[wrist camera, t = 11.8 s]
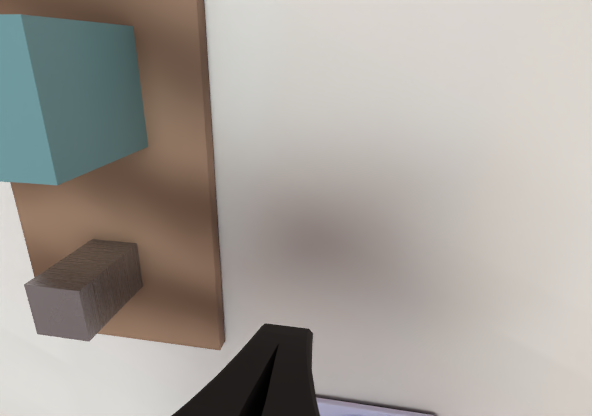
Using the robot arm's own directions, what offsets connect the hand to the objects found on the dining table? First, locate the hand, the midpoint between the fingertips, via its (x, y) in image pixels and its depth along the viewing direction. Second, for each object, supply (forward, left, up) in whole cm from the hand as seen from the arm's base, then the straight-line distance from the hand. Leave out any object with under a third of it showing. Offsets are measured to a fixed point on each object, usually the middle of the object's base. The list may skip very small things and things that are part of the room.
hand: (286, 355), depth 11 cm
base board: (+2, +11, -9) cm, 15 cm away
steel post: (-3, +11, -9) cm, 14 cm away
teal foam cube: (+6, +11, -9) cm, 15 cm away
